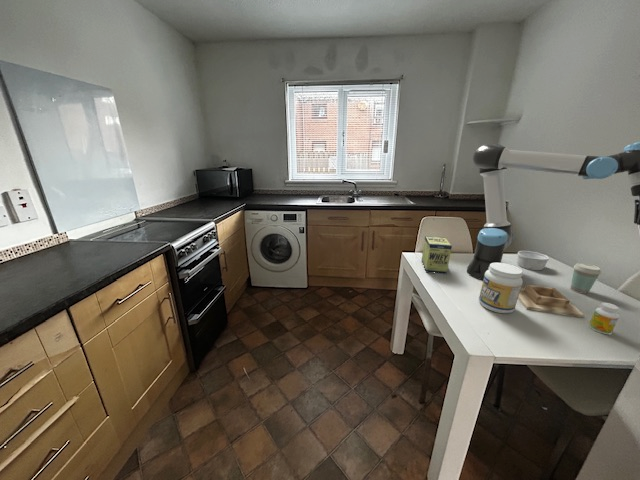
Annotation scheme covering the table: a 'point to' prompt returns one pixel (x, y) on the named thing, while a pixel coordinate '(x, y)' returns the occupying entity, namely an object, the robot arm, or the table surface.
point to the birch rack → (547, 301)
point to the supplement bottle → (604, 318)
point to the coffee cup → (584, 277)
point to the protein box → (436, 254)
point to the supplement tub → (501, 287)
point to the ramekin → (532, 260)
